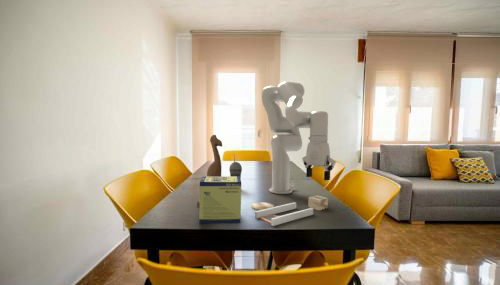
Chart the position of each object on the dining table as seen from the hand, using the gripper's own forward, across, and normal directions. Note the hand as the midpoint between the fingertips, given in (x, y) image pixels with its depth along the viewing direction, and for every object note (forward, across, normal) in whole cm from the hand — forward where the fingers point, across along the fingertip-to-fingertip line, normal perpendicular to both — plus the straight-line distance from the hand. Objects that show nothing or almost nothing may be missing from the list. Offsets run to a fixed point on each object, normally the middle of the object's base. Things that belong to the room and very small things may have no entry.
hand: (317, 178), depth 114 cm
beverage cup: (+13, -49, -11) cm, 52 cm away
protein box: (+13, -13, -42) cm, 46 cm away
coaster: (+13, -15, -19) cm, 28 cm away
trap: (+13, -1, -26) cm, 29 cm away
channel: (+13, -1, -19) cm, 24 cm away
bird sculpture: (+13, -30, -35) cm, 49 cm away
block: (+13, 0, +1) cm, 13 cm away
